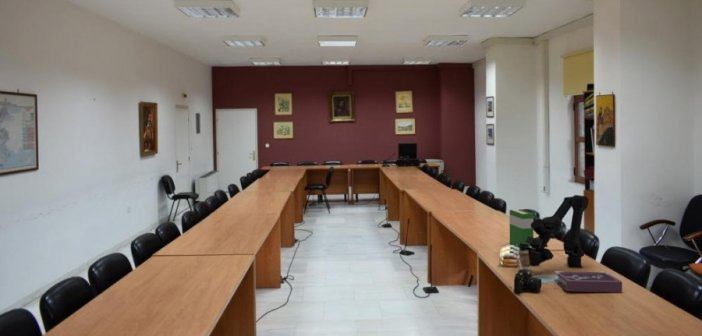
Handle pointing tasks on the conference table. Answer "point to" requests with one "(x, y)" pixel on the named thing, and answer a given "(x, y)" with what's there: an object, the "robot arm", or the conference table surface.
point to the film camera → (526, 282)
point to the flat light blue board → (546, 278)
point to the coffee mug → (533, 257)
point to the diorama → (509, 253)
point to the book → (588, 281)
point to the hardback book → (520, 227)
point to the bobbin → (525, 260)
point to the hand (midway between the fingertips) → (527, 263)
